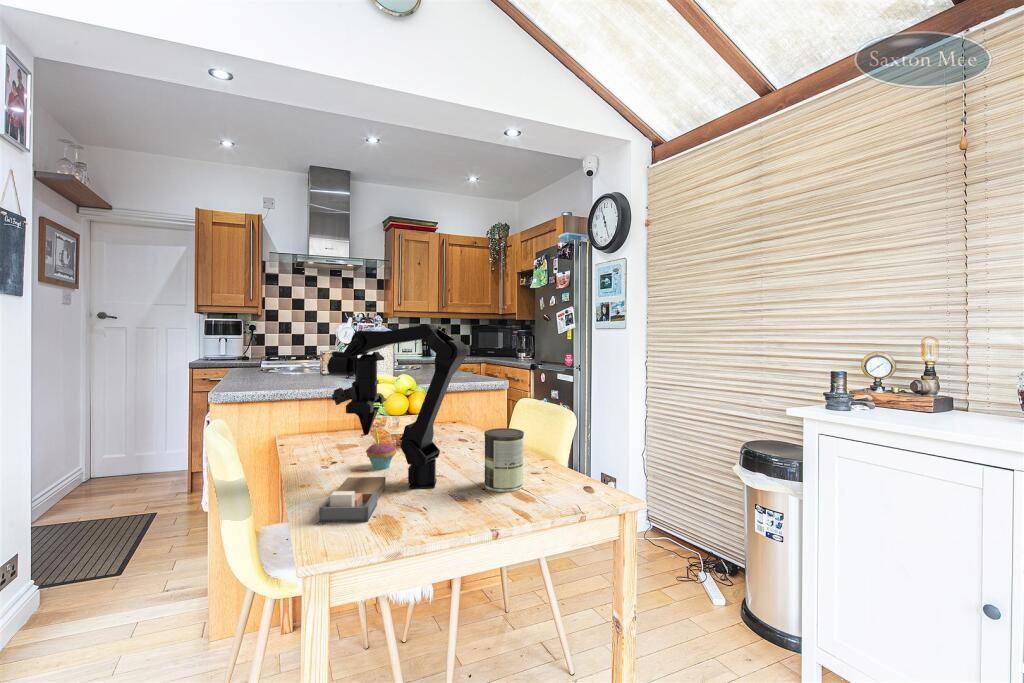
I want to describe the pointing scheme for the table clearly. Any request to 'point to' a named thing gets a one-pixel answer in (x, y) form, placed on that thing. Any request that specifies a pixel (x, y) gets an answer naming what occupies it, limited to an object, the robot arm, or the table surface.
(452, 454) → the table surface
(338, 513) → the tray
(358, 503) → the terracotta tile
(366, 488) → the walnut board
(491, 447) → the coffee can
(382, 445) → the cupcake
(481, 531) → the table surface
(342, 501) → the cream tile
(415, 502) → the table surface
